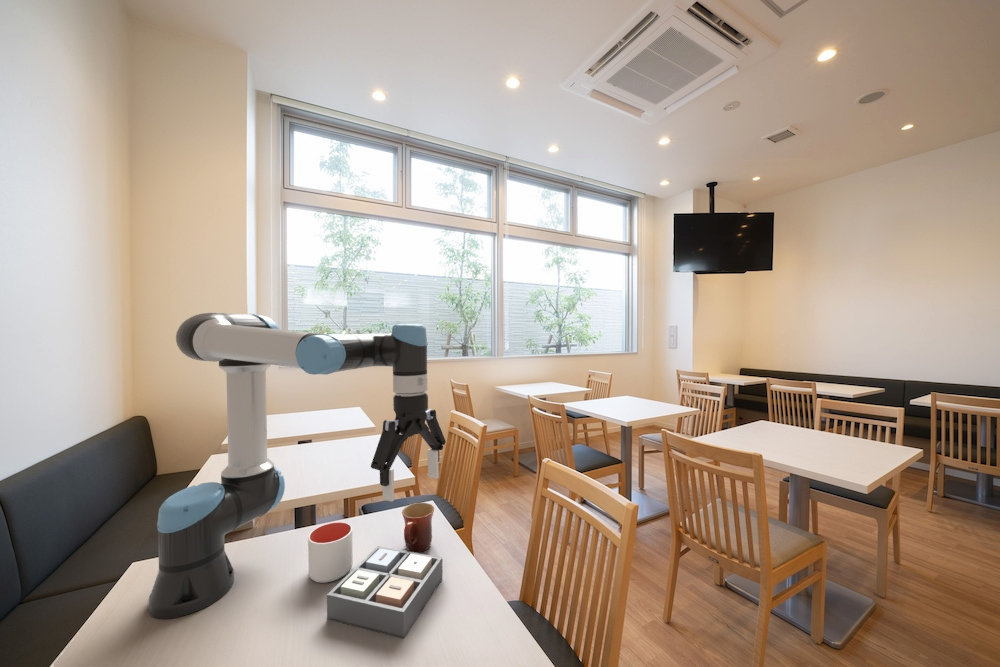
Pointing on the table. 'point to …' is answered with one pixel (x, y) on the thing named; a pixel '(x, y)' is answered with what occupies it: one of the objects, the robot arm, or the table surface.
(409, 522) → the mug
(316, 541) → the cup
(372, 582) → the sage key
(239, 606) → the table surface
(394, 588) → the terracotta key
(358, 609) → the grey compartment tray
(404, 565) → the cream key
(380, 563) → the slate key
